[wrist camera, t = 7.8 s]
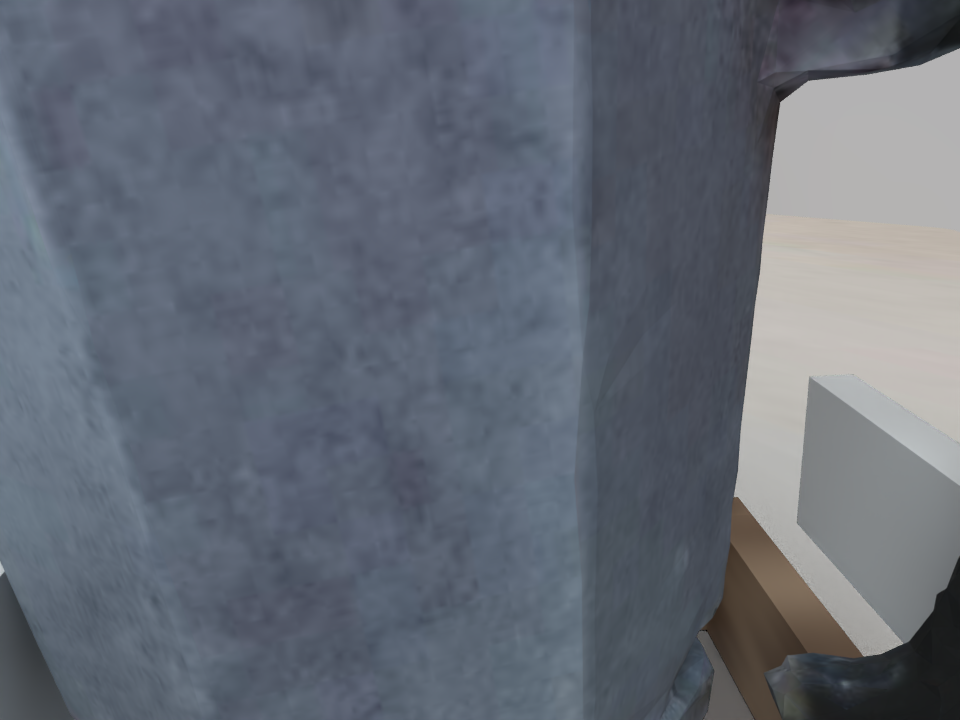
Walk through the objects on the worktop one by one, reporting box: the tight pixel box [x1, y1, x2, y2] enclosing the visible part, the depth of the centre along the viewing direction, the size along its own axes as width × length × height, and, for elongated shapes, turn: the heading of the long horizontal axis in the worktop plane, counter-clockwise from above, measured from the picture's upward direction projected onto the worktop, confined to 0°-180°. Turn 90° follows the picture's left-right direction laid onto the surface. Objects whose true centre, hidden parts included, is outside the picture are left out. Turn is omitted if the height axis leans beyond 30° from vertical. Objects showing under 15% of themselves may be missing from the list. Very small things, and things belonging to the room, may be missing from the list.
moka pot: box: [0, 0, 960, 720], centre depth 11 cm, size 10×15×20 cm, turn 79°
